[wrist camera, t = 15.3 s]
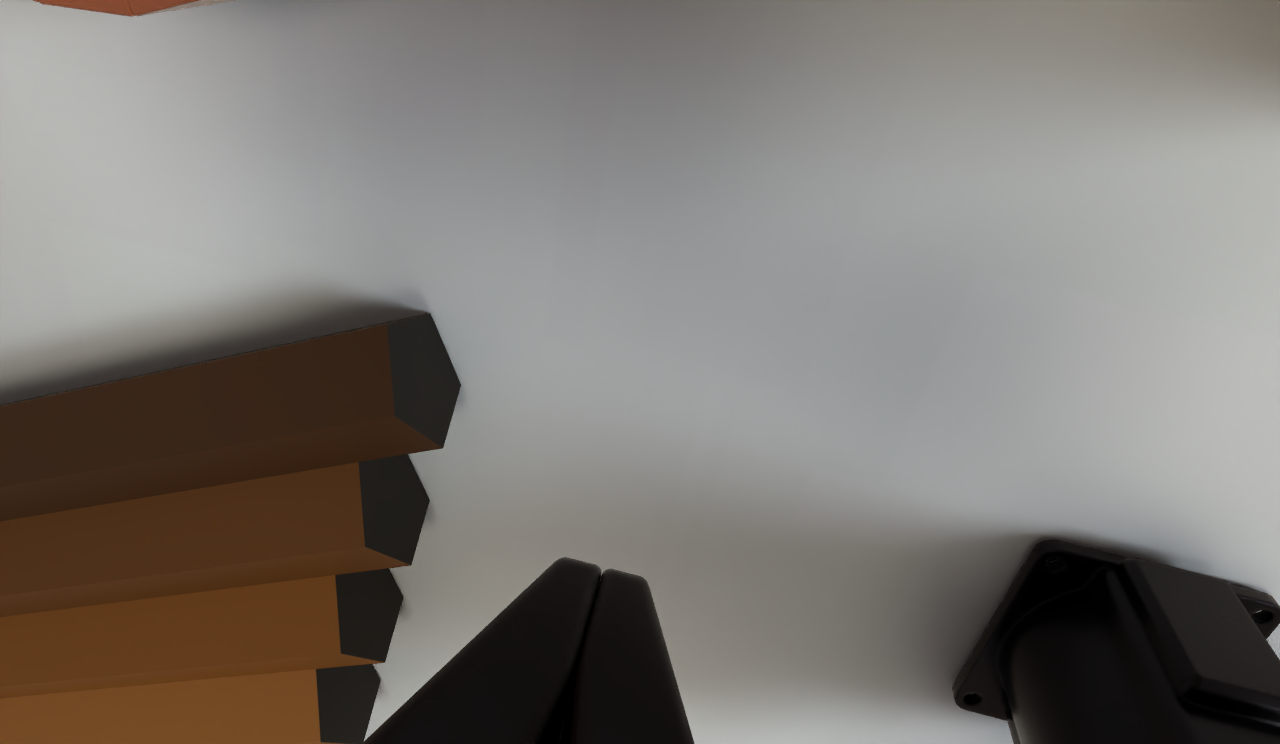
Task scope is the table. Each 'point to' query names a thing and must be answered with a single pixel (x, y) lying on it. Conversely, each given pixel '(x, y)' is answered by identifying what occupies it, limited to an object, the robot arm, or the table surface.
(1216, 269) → the table surface
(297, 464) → the pan flute
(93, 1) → the flower pot
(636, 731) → the robot arm
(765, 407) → the table surface
